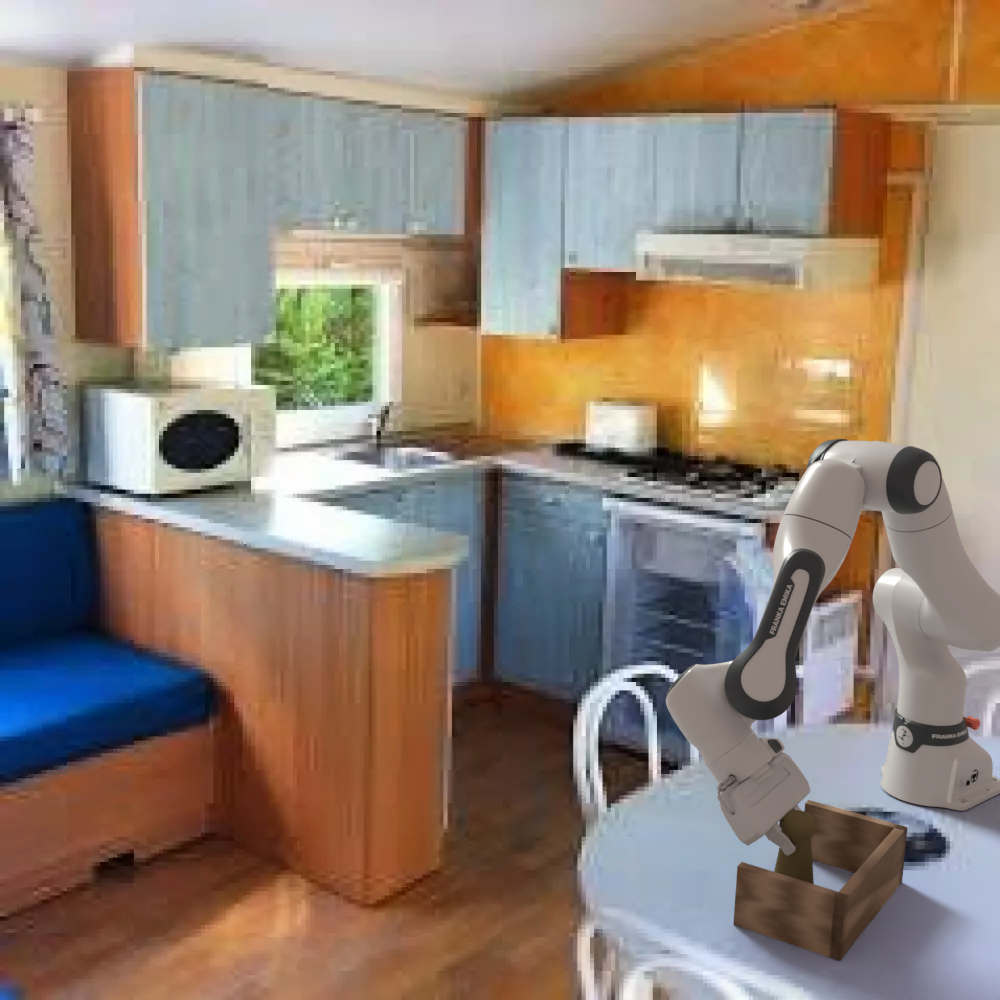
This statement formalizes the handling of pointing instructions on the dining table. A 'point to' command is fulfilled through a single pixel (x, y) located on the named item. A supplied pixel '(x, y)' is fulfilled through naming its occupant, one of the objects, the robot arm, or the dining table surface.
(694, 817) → the dining table surface
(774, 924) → the open-fronted crate
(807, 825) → the olive brown pawn
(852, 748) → the dining table surface
